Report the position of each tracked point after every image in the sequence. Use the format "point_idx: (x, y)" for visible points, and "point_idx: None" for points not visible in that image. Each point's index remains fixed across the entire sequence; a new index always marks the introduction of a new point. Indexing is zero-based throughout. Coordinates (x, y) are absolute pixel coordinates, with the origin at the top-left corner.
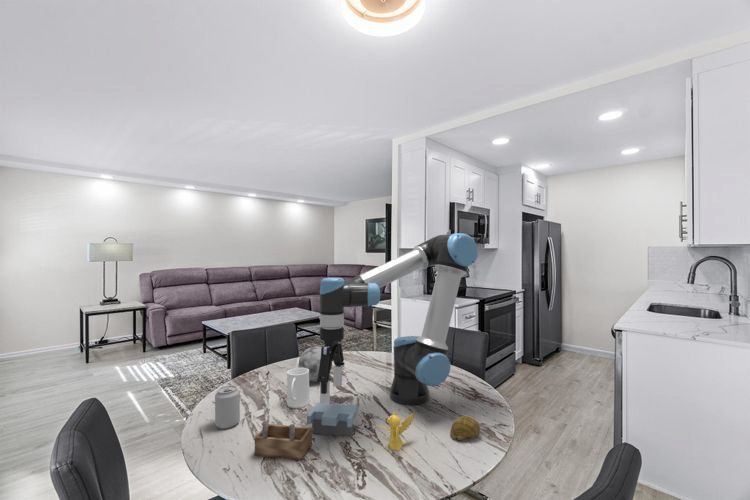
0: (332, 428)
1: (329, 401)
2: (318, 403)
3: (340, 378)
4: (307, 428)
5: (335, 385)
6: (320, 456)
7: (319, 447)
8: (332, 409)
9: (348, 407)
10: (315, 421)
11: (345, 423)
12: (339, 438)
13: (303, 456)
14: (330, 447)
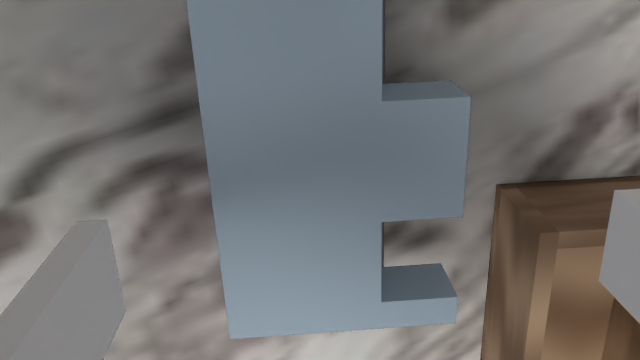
0: None
1: (632, 198)
2: (238, 322)
3: (68, 288)
4: (552, 255)
5: (120, 292)
6: (612, 91)
7: (521, 131)
8: (320, 178)
9: (250, 43)
10: (381, 250)
11: (384, 19)
12: (409, 41)
13: (633, 180)
14: (518, 65)
